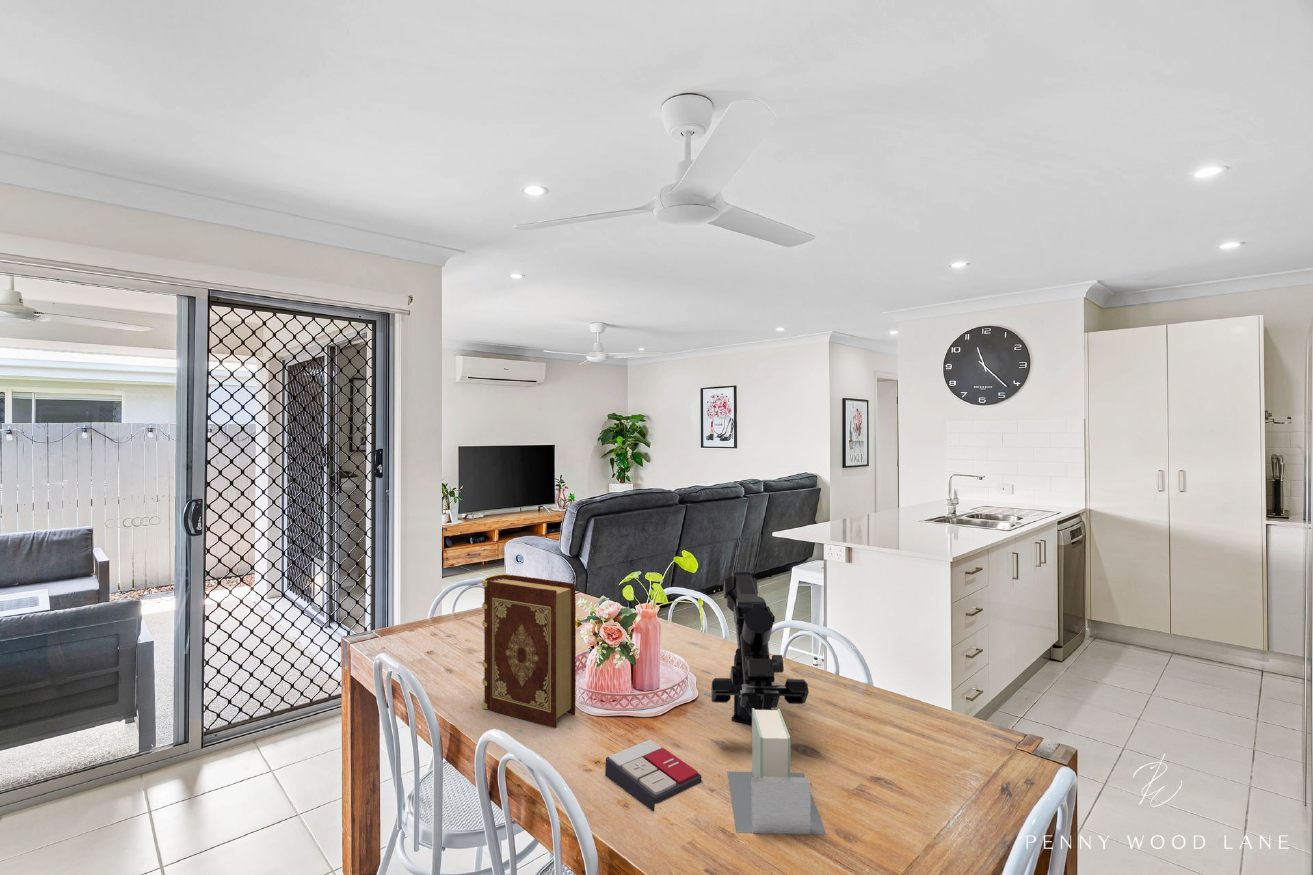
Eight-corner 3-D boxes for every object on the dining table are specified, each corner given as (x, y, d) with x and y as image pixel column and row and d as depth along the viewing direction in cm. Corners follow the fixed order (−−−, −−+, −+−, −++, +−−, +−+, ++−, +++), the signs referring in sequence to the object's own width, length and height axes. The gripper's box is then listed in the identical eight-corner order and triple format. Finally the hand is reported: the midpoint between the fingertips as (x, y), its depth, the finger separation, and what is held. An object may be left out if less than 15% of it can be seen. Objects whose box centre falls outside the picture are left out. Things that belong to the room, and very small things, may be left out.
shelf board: (727, 779, 114) (727, 771, 114) (803, 780, 113) (803, 772, 113) (736, 841, 96) (736, 832, 96) (826, 843, 96) (826, 834, 96)
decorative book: (477, 707, 144) (477, 579, 143) (500, 694, 151) (500, 572, 151) (554, 729, 133) (554, 590, 133) (576, 714, 140) (576, 582, 140)
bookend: (751, 826, 98) (751, 776, 98) (808, 827, 97) (808, 777, 97) (752, 832, 96) (752, 781, 96) (810, 834, 96) (810, 782, 96)
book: (752, 773, 113) (752, 708, 113) (779, 773, 113) (779, 708, 113) (760, 809, 102) (760, 737, 102) (790, 810, 102) (790, 737, 102)
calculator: (655, 793, 104) (604, 753, 115) (654, 818, 104) (604, 775, 115) (702, 771, 111) (650, 735, 122) (702, 794, 111) (649, 756, 122)
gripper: (712, 637, 122) (715, 718, 111) (806, 639, 122) (819, 720, 111) (709, 662, 130) (712, 740, 119) (798, 664, 129) (810, 742, 118)
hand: (762, 735), depth 117 cm, fingers closed
